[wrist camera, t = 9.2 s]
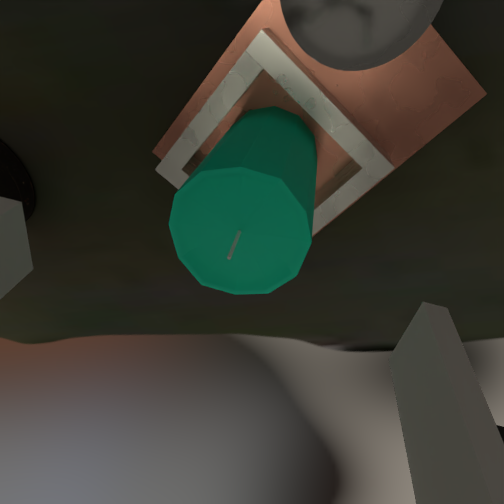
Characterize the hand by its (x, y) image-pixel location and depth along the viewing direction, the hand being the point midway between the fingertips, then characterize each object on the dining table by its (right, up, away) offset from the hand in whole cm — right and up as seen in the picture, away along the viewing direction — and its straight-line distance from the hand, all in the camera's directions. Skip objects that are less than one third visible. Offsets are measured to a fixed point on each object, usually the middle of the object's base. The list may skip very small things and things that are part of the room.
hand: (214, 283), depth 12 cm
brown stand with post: (+4, +9, +11) cm, 16 cm away
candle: (+2, +7, +12) cm, 14 cm away
